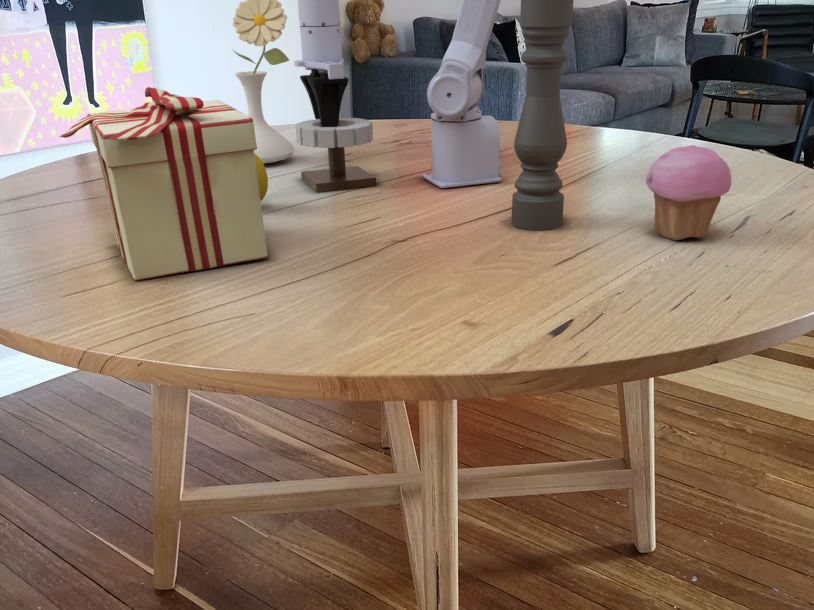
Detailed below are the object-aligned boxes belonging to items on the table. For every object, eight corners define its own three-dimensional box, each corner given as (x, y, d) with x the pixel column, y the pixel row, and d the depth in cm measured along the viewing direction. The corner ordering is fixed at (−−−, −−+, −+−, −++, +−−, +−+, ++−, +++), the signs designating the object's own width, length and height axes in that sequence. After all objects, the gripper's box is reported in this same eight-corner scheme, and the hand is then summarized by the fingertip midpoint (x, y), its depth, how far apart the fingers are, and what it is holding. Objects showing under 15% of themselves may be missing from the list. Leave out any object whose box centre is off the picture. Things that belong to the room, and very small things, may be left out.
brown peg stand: (358, 173, 127) (356, 135, 125) (376, 185, 120) (374, 145, 117) (301, 179, 125) (298, 140, 122) (316, 192, 117) (313, 151, 114)
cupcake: (697, 223, 98) (709, 136, 94) (737, 244, 91) (752, 150, 86) (627, 229, 97) (636, 141, 92) (663, 251, 89) (674, 156, 84)
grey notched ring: (358, 132, 126) (357, 115, 125) (382, 143, 117) (382, 125, 116) (289, 138, 122) (287, 121, 121) (308, 150, 113) (307, 132, 112)
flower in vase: (212, 167, 134) (188, -4, 123) (249, 153, 144) (231, -7, 132) (282, 171, 130) (264, -6, 118) (316, 157, 139) (303, -9, 127)
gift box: (79, 251, 95) (44, 92, 87) (234, 226, 103) (215, 78, 94) (110, 294, 82) (71, 111, 73) (284, 261, 89) (267, 93, 81)
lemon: (262, 216, 107) (255, 152, 103) (222, 214, 108) (213, 151, 104) (276, 205, 111) (270, 144, 108) (238, 204, 112) (230, 143, 109)
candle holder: (566, 217, 102) (580, -9, 90) (557, 231, 97) (571, -7, 85) (517, 214, 104) (525, -8, 92) (505, 228, 99) (512, -6, 87)
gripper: (281, 24, 121) (289, 121, 127) (304, 29, 109) (312, 136, 115) (327, 22, 123) (334, 117, 129) (355, 27, 111) (361, 132, 117)
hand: (327, 126), depth 122 cm, fingers closed on grey notched ring, 3 cm apart
